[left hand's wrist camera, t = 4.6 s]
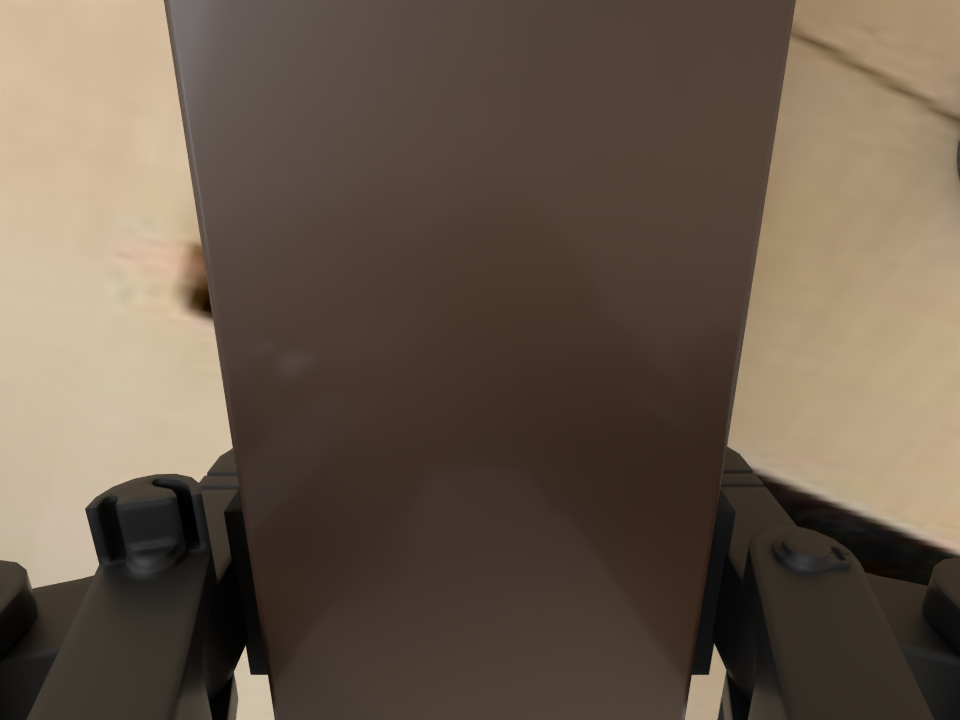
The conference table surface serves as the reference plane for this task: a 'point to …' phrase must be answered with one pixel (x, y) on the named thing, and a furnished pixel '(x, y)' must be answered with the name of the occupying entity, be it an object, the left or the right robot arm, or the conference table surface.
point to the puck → (959, 159)
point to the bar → (479, 334)
